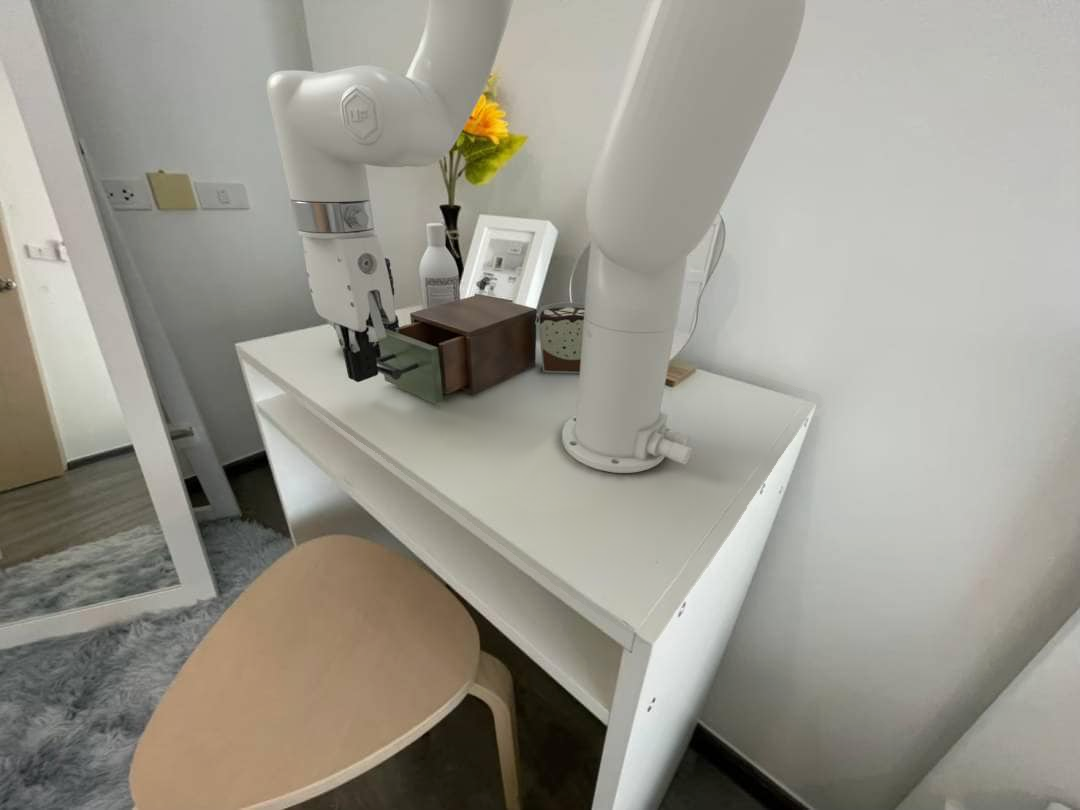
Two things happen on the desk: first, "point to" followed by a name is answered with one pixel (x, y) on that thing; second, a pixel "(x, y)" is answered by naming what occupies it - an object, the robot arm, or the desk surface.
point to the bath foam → (438, 270)
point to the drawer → (424, 360)
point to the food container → (561, 336)
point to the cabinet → (488, 336)
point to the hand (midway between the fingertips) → (363, 376)
